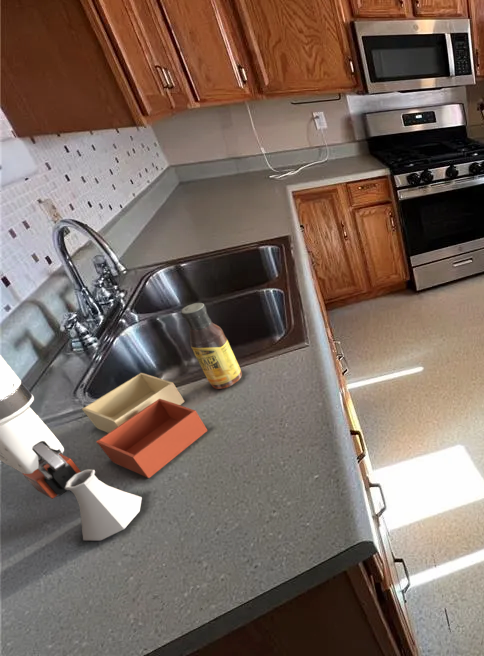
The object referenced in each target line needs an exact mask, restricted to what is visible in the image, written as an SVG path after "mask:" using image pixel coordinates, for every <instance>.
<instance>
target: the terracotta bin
mask: <svg viewBox="0 0 484 656" xmlns="http://www.w3.org/2000/svg"><path fill="white" fill-rule="evenodd" d="M207 432H208V429H207V427H206V425H205V424H204V422H203V421H202V419H201V417H200V415H199V414H198V412H197V410H196V409H192V408H190V407H186V406H183V405H182V404H181V405H178V404H175V403H172V402H169V401H166V400H163V399H158V400H157V401H155V402H154V403H152V404H151V405H149V406H148V407H146V408H145V409H143V410H142V411H140V412H139V413H137V414H136V415H135V416H133V417H132V418H130V419H129V420H127V421H126V422H124V423H123V424H121V425H120V426H118V427H117V428H115V429H114V430H112V431H111V432H109V433H107V434H104V435H103V436H102V437H101V438H99V439H97V440H96V442H95V443H96V444H97V445H98V446H99V447H100V449H101V450H102V451H103V452H104V453H105V455H106V456H107V457H108V458H109V460H110V461H111V462H112V463H114V464H116V465H118V466H120V467H122V468H125V469H127V470H130V471H132V472H134V473H136V474H138V475H141V476H143V477H145V478H147V479H150V478H151V477H153V476H154V475H155V474H156V473H158V472H159V471H160V470H161V469H162V468H164V467H165V466H166V465H167V464H168V463H170V462H171V461H172V460H174V458H176V457H177V456H178V455H180V454H181V453H182V452H183V451H185V450H186V449H187V448H188V447H190V446H191V445H192V444H194V442H196V441H197V440H198V439H199V438H200V437H202V436H203V435H204V434H205V433H207Z"/></svg>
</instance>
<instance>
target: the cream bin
mask: <svg viewBox="0 0 484 656" xmlns="http://www.w3.org/2000/svg"><path fill="white" fill-rule="evenodd" d="M158 399H163V400H166V401H169V402H172V403H175V404H178V405H181V406H182V404H184V403H185V399H184V397H183V396H182V395H181V393H180V392H179V389H178V388H177V387H176V385H175V384H174V382H173V381H170V380H167V379H163V378H161V377H157V376H153V375H150V374H147V373H145V372H140V373H138V374H137V375H135V376H133V377H132V378H130V379H128V380H127V381H125V382H124V383H122V384H120V385H119V386H117V387H116V388H114V389H112V390H110V391H109V392H107V393H106V394H104V395H102V396H101V397H99V398H97V399H96V400H94V401H92V402H91V403H89V404H88V405H86V406H84V407H82V408H81V410H82V411H83V413H84V414H85V415H86V416H87V418H88V419H89V420H90V421H91V422H92V424H93V425H94V427H95V428H96V429H98V430H99V431H102V432H105V433H107V434H108V433H109V432H111V431H112V430H114V429H115V428H117V427H118V426H120V425H121V424H123V423H124V422H126V421H127V420H129V419H130V418H132V417H133V416H135V415H136V414H137V413H139V412H140V411H142V410H143V409H145V408H146V407H148V406H149V405H151V404H152V403H154V402H155V401H157V400H158Z"/></svg>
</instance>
